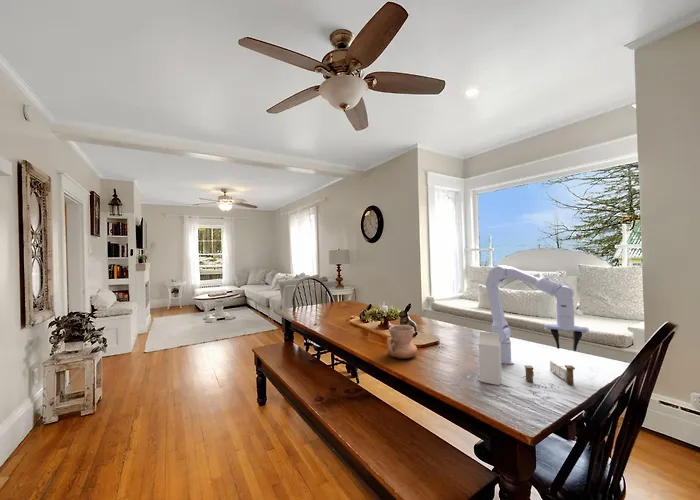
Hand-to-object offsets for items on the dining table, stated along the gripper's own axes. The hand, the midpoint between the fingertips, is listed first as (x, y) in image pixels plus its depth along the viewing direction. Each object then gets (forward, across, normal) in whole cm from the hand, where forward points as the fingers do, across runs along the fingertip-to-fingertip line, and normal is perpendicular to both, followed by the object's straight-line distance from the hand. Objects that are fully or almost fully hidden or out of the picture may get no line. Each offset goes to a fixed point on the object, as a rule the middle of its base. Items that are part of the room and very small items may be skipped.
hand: (566, 349), depth 122 cm
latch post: (+10, +13, +13) cm, 21 cm away
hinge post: (+10, 0, +10) cm, 14 cm away
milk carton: (+11, +27, +19) cm, 34 cm away
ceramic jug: (+11, +68, +8) cm, 69 cm away
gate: (+10, +3, +3) cm, 11 cm away
